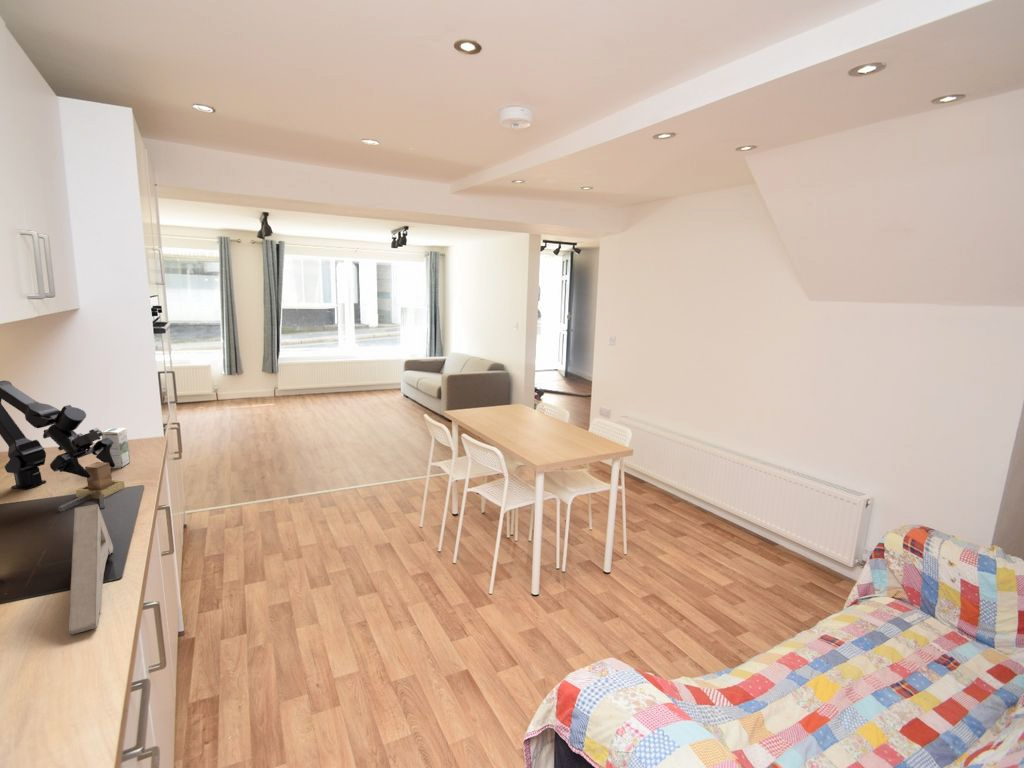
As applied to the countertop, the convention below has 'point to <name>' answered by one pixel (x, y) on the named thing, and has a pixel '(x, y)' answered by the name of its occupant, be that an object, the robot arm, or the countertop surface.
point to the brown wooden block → (99, 476)
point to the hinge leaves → (93, 495)
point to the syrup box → (118, 446)
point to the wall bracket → (87, 567)
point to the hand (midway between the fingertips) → (102, 471)
